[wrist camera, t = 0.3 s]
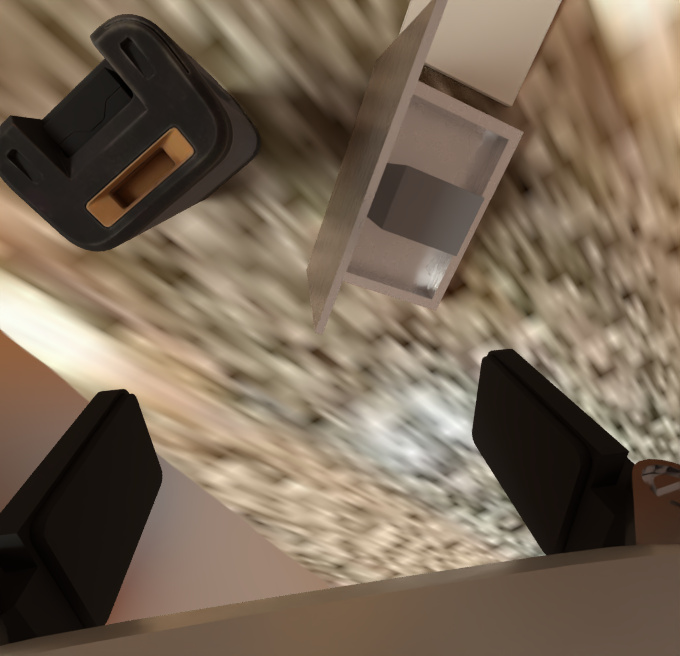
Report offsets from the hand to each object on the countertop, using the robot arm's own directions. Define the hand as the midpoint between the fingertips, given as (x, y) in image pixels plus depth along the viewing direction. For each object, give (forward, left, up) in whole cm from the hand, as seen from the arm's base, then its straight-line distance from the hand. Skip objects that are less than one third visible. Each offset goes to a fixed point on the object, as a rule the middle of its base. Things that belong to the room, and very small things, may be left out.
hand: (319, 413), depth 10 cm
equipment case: (-6, +9, -30) cm, 32 cm away
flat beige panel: (-22, +9, -30) cm, 38 cm away
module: (-6, +9, -29) cm, 31 cm away
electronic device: (-4, -10, -30) cm, 32 cm away
